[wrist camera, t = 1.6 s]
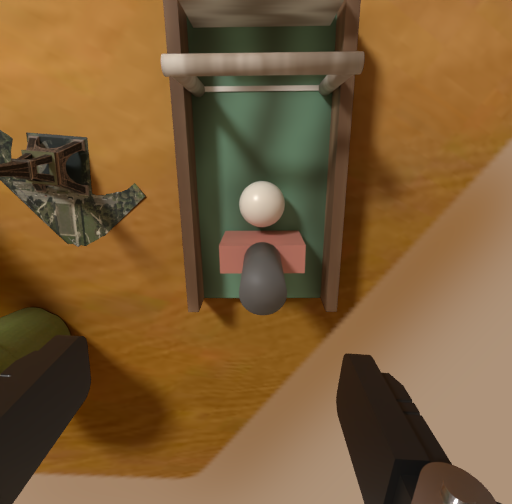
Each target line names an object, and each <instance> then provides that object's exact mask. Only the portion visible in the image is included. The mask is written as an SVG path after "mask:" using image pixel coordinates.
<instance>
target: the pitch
mask: <svg viewBox="0 0 512 504" xmlns="http://www.w3.org/2000/svg"><path fill="white" fill-rule="evenodd" d="M360 3H361V0H163V5H164V17H165V30H166V42H167V54H162V55H161V67H162V71H163V74H164V76H165V77H169V79H170V91H171V104H172V116H173V129H174V141H175V153H176V166H177V178H178V190H179V203H180V215H181V227H182V240H183V252H184V265H185V277H186V289H187V302H188V312H199V310H200V308H201V305H202V302H203V300H204V298H239V288H240V281H241V275H242V273H220V258H219V244H220V242H221V240H222V238H223V235H224V233H225V231H299V232H300V234H301V236H302V239H303V241H304V243H305V245H306V252H305V273H284V278H285V283H286V289H287V298H321V301H322V303H323V305H324V308H325V310H326V312H337V302H338V289H339V276H340V263H341V250H342V237H343V224H344V211H345V198H346V185H347V172H348V159H349V146H350V133H351V120H352V107H353V94H354V81H355V74H361V73H362V70H363V66H364V52H363V51H357V42H358V29H359V16H360ZM258 181H267V182H270V183H272V184H274V185H276V186H277V187H278V188H279V189H280V191H281V192H282V194H283V196H284V200H285V208H284V212H283V214H282V216H281V217H280V219H279V220H278V221H277V222H276V223H274V224H272V225H270V226H267V227H257V226H254V225H251V224H250V223H248V222H247V221H246V220H245V219H244V218H243V216H242V214H241V212H240V208H239V201H240V197H241V194H242V192H243V191H244V189H245V188H246V187H247V186H249V185H250V184H252V183H254V182H258Z"/></svg>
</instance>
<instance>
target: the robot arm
mask: <svg viewBox="0 0 512 504" xmlns="http://www.w3.org/2000/svg"><path fill="white" fill-rule="evenodd" d="M90 384H91V374H90V365H89V355H88V346H87V340H86V338H85V337H83V336H70V335H56V336H54V337H53V338H52V339H51V340H50V341H49V342H47V343H46V344H45V345H44V346H43V347H42V348H41V349H40V350H39V351H33V352H31V353H29V354H27V355H26V356H24V357H22V358H20V359H18V360H16V361H15V362H13V363H12V364H11V365H10V366H9V367H8V368H6V369H5V370H4V371H3V372H2V373H1V374H0V504H12V503H13V502H14V501H15V499H16V498H17V497H18V495H19V494H20V492H21V491H22V489H23V488H24V486H25V485H26V484H27V482H28V481H29V479H30V478H31V477H32V475H33V474H34V472H35V471H36V469H37V468H38V467H39V465H40V464H41V462H42V461H43V459H44V458H45V457H46V455H47V454H48V452H49V451H50V449H51V448H52V447H53V445H54V444H55V442H56V441H57V439H58V438H59V437H60V435H61V434H62V432H63V431H64V429H65V428H66V426H67V425H68V424H69V422H70V421H71V419H72V418H73V416H74V415H75V414H76V412H77V411H78V409H79V408H80V406H81V405H82V404H83V402H84V401H85V399H86V397H87V395H88V392H89V389H90ZM336 398H337V399H336V403H337V413H338V417H339V421H340V424H341V427H342V430H343V434H344V437H345V441H346V444H347V447H348V450H349V454H350V457H351V460H352V464H353V467H354V470H355V474H356V477H357V480H358V484H359V487H360V490H361V493H362V496H363V500H364V503H365V504H501V503H498V502H496V501H495V499H494V498H493V496H492V495H491V493H490V492H489V491H488V490H487V489H486V488H485V487H484V485H483V484H482V483H481V482H479V481H478V480H477V479H476V478H475V477H473V476H472V475H470V474H469V473H468V472H466V471H464V470H463V469H461V468H458V467H456V466H454V465H452V464H451V462H450V461H449V459H448V458H447V456H446V454H445V452H444V451H443V449H442V448H441V446H440V444H439V443H438V441H437V440H436V438H435V436H434V435H433V433H432V432H431V430H430V428H429V427H428V425H427V424H426V422H425V420H424V419H423V417H422V416H420V413H419V411H418V409H417V407H416V406H415V404H414V403H412V399H411V398H410V396H409V394H408V393H407V391H406V390H405V388H404V386H403V385H401V383H399V382H398V381H397V380H396V379H395V378H394V377H393V376H391V375H390V374H389V373H381V372H380V370H379V368H378V366H377V365H376V363H375V361H374V359H373V358H372V357H371V356H370V355H361V354H345V355H344V358H343V362H342V367H341V373H340V379H339V384H338V390H337V397H336Z"/></svg>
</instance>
